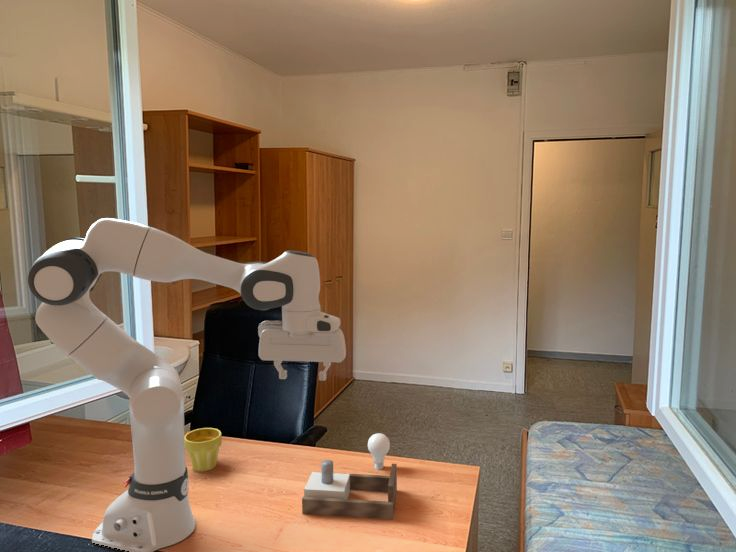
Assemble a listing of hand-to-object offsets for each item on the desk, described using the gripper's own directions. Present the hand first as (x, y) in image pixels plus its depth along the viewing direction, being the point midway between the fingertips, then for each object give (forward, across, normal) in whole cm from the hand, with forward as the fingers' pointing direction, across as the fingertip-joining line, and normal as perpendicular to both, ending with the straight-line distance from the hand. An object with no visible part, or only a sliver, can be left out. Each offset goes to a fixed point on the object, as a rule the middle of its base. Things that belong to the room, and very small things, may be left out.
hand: (302, 379), depth 128 cm
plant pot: (+35, -36, +24) cm, 56 cm away
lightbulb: (+35, +15, +27) cm, 47 cm away
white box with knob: (+34, +4, +8) cm, 35 cm away
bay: (+35, +10, +8) cm, 37 cm away
